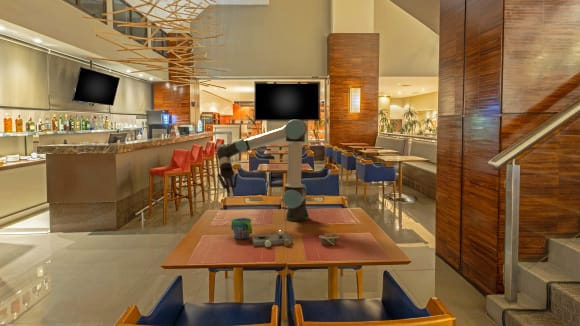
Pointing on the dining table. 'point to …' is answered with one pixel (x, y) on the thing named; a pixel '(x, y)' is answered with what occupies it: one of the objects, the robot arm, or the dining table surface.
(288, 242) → the cork ball
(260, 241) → the plate
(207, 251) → the dining table surface
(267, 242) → the pale green ball
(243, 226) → the snack cup
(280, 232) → the steel ball
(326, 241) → the platform
